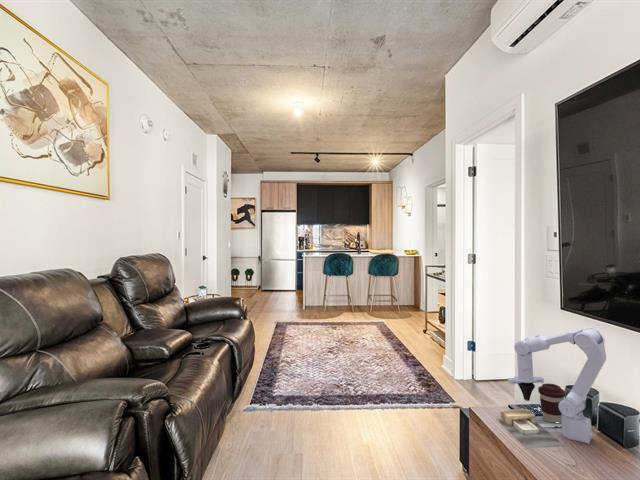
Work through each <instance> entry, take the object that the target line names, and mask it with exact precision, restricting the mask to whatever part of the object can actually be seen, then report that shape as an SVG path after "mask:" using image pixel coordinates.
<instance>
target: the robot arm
mask: <svg viewBox="0 0 640 480" xmlns="http://www.w3.org/2000/svg"><path fill="white" fill-rule="evenodd" d="M568 342H569V343H570V344H572V345H573V346H574V345H576V346H577V347H578V348H579V349H580V350H582V352H583V353H584V354H585V355H586V358H587V359H586V361H585V364H584V365H583V367H582V369H581V371H580V372H579V374H578V376H577V378H576V380H575V382H574V384H573V386H572V388H571V390H570V391H569V393H568V394H567V395H565V397H564V400H563V401H561V402H560V403H559V405H558V407H559V410H560V412H561V413H562V423H561V429H562V436H564V437H565V438H567V439H569V440H572V441H577V442H582V443H586V444H590V443H591V441H592V440H593V439H592V438H593V435H592V434H593V433H592V419H590V418H589V417H586V416H584V413H583V411H584V410H586V409H585V408H586V400H587V395H588V394H589V393H590V390H591V389H592V386H593V384H594V383H595V380H596V379H597V377H598V375H599V373H600V371H601V370H602V369H603V366H604V365H605V362H606V361H607V354H606V353H607V352H606V347H605V338H604V337H603V335H602V333H601V332H600V331H599V330H598V329H596V328H592V327H588V328H585V329H584V328H581V329H574V330H569V331H565V332H562V333H559V334H555V335H552V336H545V335H540V334H536V335H535V336H534V337H525V338H524V339H522V340H519V341H517V342H515V343H514V346H513V348H514V351H515V352H516V357H517V359H516V360H517V361H516V362H517V376H514V377H509V378H507V383H508V384H509V385H514V384H517V385H518V387H519V389H520V391H521V393H522V398H523V400H525V401H526V402H529V401H530V400H531V396H532V393H533V391H534V389H535V388H536V385H535V384H534V383H541V384H545V379H544V378H543V377H542V376H534V368H533V367H534V366H533V365H534V364H533V353H537V352H541V351H545V350H549V349H550V347H551V346H553V345H558V344H563V343H568Z"/></svg>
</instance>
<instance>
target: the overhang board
mask: <svg viewBox="0 0 640 480" xmlns="http://www.w3.org/2000/svg"><path fill="white" fill-rule="evenodd" d="M512 419H527V420H528V421H530V422H531V423H532V424H533V425H535V426H536V427H537V428H538V429H539V434H535V435H523V434H522V433H520V432H519V431H518V430H517V429H516V428H515V427H514V426H513V425H512ZM496 421H497V422H499V424H500V425H501V426H502V427H503V428H504V429H506V431H508V432H509V433H510V435H512V436H513V437H514V438H515V439H516V440H518V442H519V443H520V444H521V445H523V447H525V449H536V448H557V447H566V445H565V444H564V443H563V442H561V441H560V440H559V439H558V438H556V437H555V436H554V435H553V434H551V433H550V432H549V431H547V429H546V428H544V427H542V426H541V425H540V424H539V423H538V422H537V421H536V414H534V413H533V411H532V412H531V411H530V410H529V409H528V408H515V409H500V418H496Z"/></svg>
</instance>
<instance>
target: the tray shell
mask: <svg viewBox="0 0 640 480" xmlns="http://www.w3.org/2000/svg"><path fill="white" fill-rule="evenodd" d="M512 425H513V426H514V427H515V428H516V429H517V430H518V431H519V432H520V433H522V434H523V435H535V434H539V429H538V428H537V427H536V426H535V425H533V424H532V423H531V422H530V421H528V420H527V419H512Z"/></svg>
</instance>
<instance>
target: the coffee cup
mask: <svg viewBox="0 0 640 480" xmlns="http://www.w3.org/2000/svg"><path fill="white" fill-rule="evenodd" d="M537 389H538V391H537V392H538V393H539V401H540V407H541V408H540V409H541V412H542V418H544V419H545V420H544V419H543V420H544V421H546V420H547V421H546V422H548V421H549V422H548V423H550V422H562V413H561V412H560V410H559V407H558V405H559V403H560V402H561V401H563V400H564V399H565V398H566V391H565V390H564V389H563V388H562V387H561V386H560V385H558V384H554V383H542V385H540V386H538V388H537Z"/></svg>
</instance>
